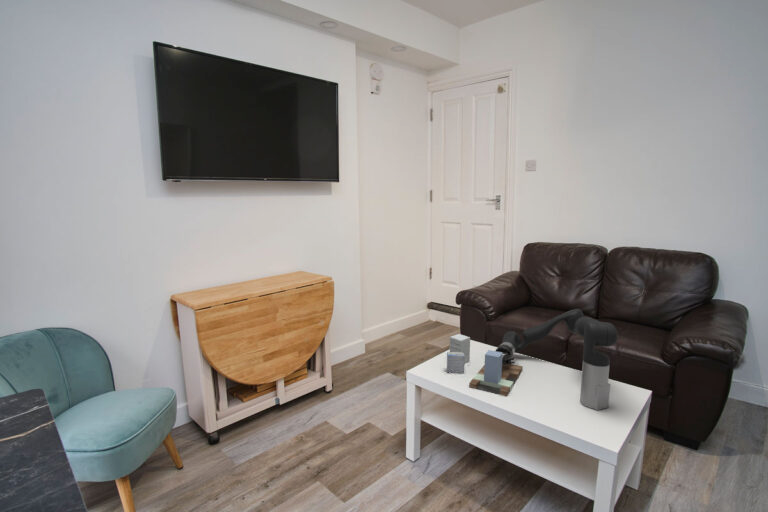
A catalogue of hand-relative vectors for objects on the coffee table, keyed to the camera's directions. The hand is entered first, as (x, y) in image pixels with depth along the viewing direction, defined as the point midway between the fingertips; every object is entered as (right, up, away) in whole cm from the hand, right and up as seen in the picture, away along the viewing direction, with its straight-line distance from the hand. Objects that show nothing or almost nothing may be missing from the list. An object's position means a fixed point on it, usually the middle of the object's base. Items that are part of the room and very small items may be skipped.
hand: (495, 364), depth 177 cm
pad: (-2, -8, -2) cm, 9 cm away
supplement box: (-11, -5, +24) cm, 27 cm away
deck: (+2, -8, +4) cm, 9 cm away
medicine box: (-16, -7, +12) cm, 21 cm away
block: (-2, -6, -2) cm, 7 cm away
